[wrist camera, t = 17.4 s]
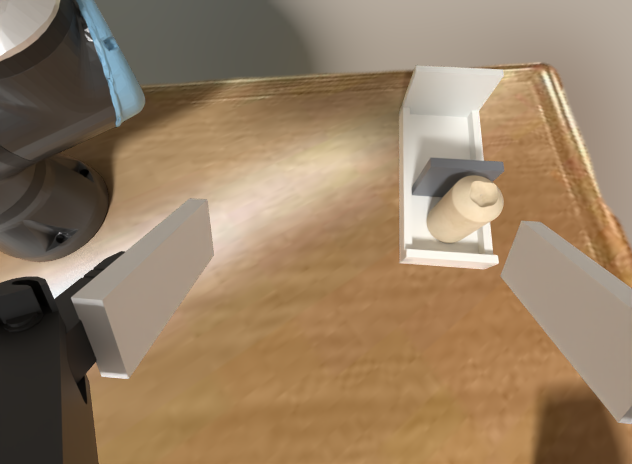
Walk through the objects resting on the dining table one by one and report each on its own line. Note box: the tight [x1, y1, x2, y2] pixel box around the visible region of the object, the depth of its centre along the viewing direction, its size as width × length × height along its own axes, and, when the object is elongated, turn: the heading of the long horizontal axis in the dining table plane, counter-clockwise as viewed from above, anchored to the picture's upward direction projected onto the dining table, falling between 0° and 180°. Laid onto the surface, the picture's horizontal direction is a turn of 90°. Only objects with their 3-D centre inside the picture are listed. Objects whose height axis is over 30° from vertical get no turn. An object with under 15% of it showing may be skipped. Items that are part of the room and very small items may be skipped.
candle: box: [427, 175, 504, 243], centre depth 37 cm, size 6×6×10 cm
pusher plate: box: [412, 157, 504, 197], centre depth 39 cm, size 8×1×8 cm, turn 85°
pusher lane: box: [399, 65, 504, 269], centre depth 40 cm, size 11×24×9 cm, turn 176°
